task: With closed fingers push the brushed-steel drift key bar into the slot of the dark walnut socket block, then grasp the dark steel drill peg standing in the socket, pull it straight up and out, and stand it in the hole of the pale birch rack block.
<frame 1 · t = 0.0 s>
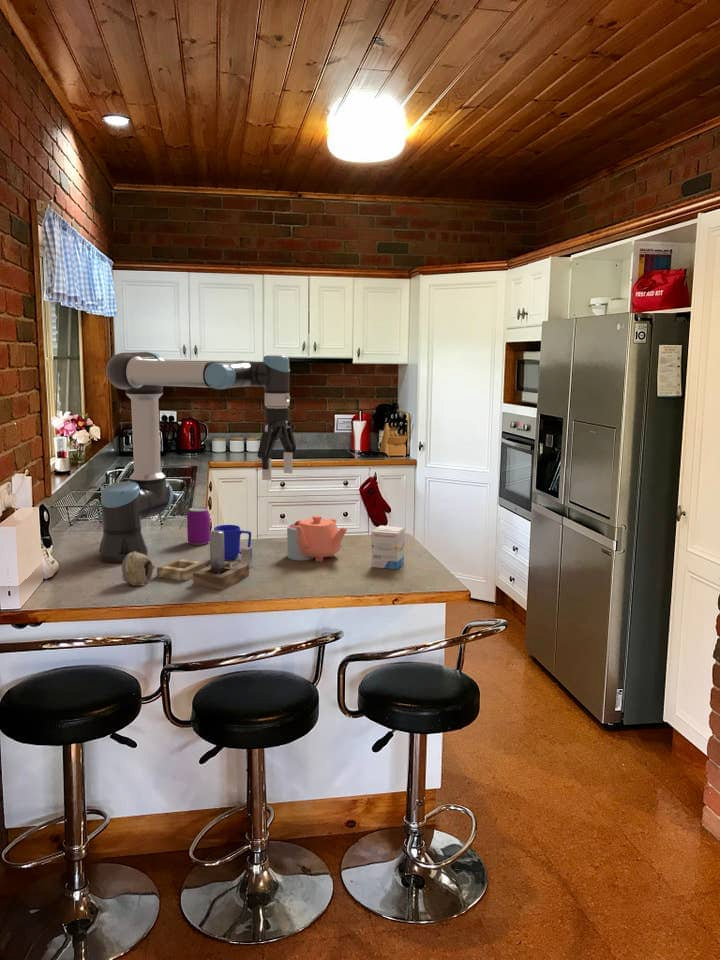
hand: (277, 476, 235), 28 cm above the table, fingers open, 13 cm apart
ink box: (387, 565, 241), on the table
beverage can: (199, 543, 264), on the table
mug 2: (306, 558, 248), on the table, touching teapot
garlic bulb: (139, 583, 221), on the table
rack: (181, 574, 229), on the table
drill peg: (217, 582, 222), resting in socket block
teapot: (317, 558, 248), on the table, touching mug 2
mug: (233, 558, 246), on the table
drift key: (241, 560, 234), point 3 cm above the table, slide at 0.0 cm
socket block: (221, 580, 224), on the table
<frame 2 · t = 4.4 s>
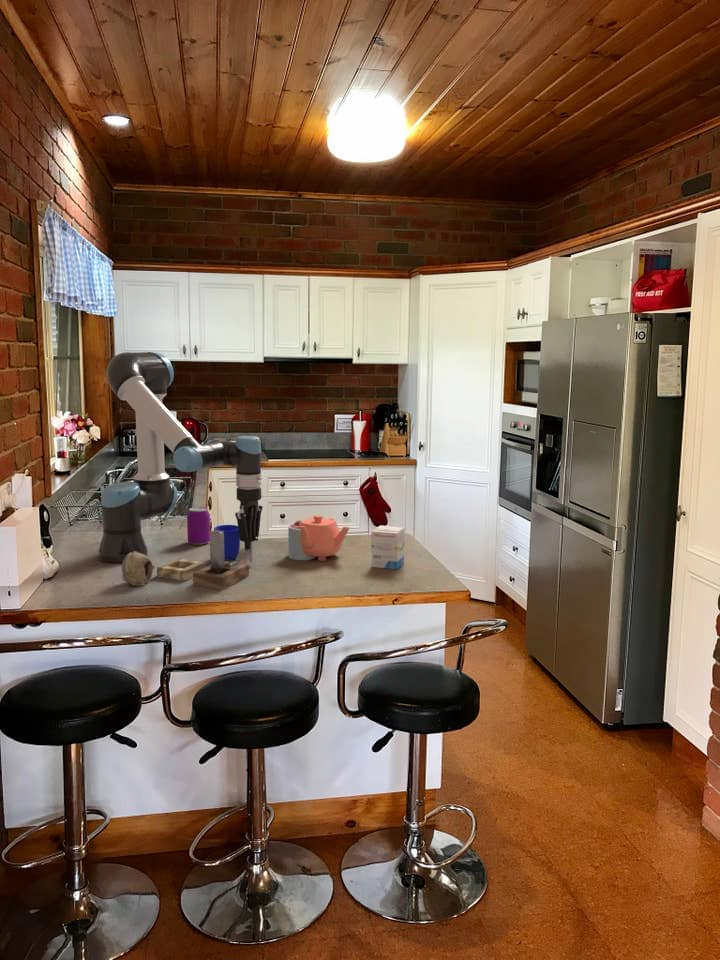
hand: (249, 561, 238), 1 cm above the table, fingers closed
drift key: (239, 561, 232), point 3 cm above the table, slide at 1.5 cm, touching gripper
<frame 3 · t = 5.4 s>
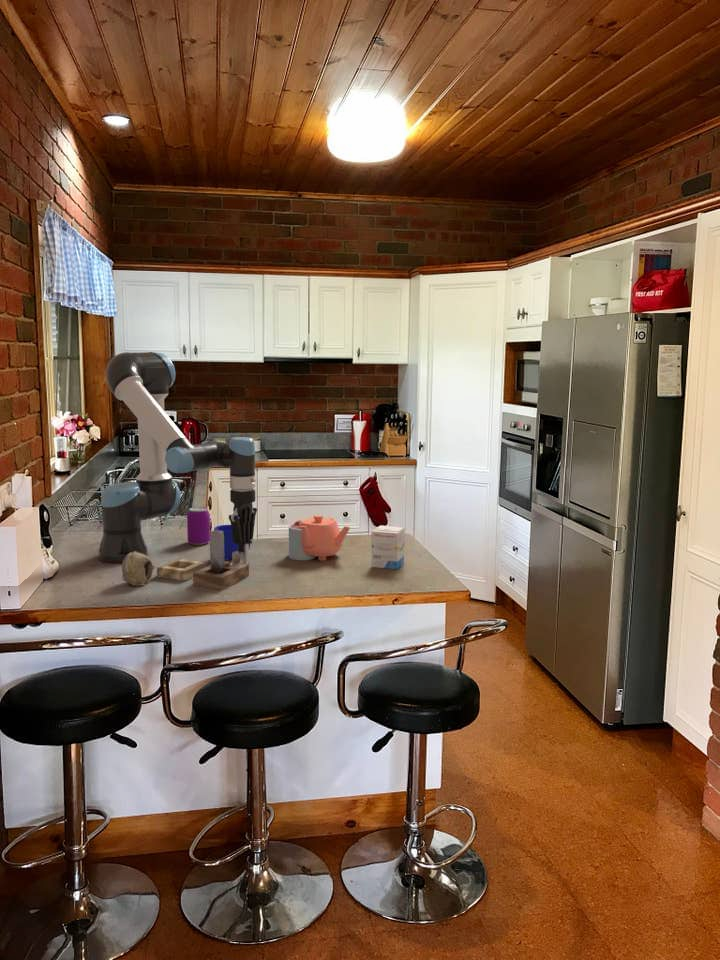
hand: (243, 564, 235), 1 cm above the table, fingers closed
drift key: (232, 564, 229), point 3 cm above the table, slide at 5.1 cm, touching gripper
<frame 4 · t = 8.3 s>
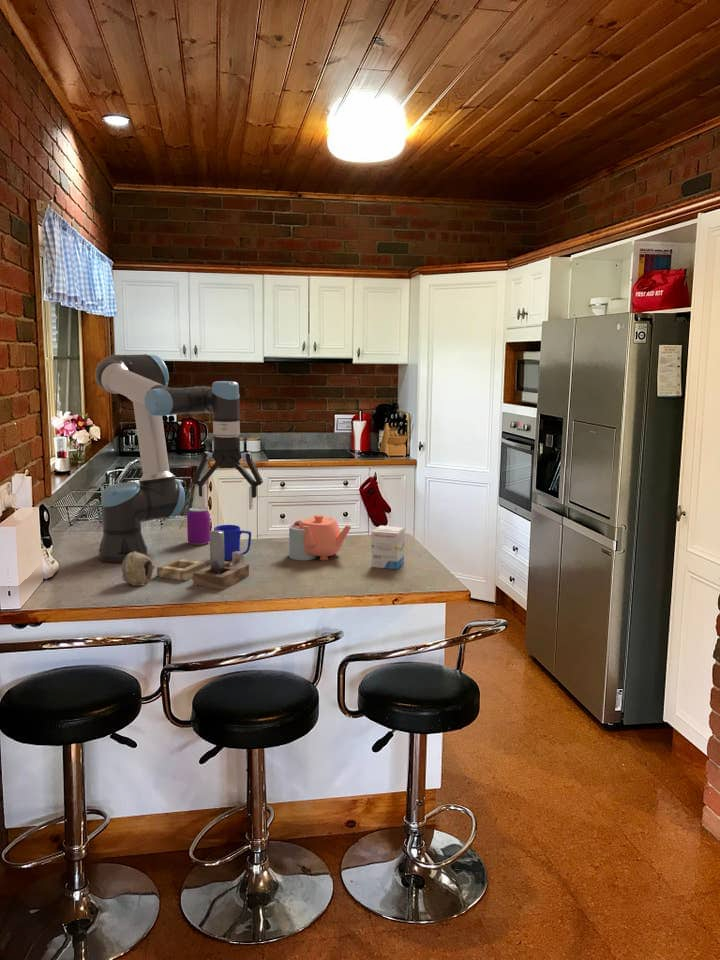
hand: (228, 508, 224), 21 cm above the table, fingers open, 13 cm apart
mug 2: (309, 557, 248), on the table, touching teapot
teapot: (319, 557, 249), on the table, touching mug 2
drift key: (232, 564, 229), point 3 cm above the table, slide at 5.2 cm
everything else where it was.
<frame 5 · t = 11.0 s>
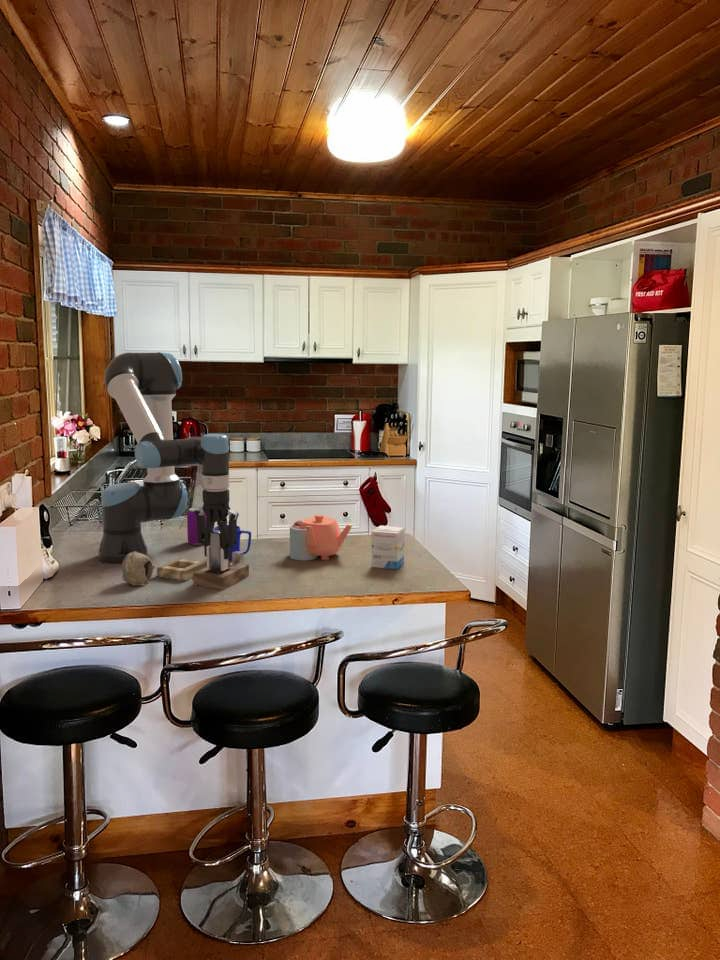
hand: (217, 568, 221), 4 cm above the table, fingers closed on drill peg, 4 cm apart
mug 2: (310, 557, 249), on the table, touching teapot
drill peg: (217, 582, 222), resting in socket block, touching gripper
teapot: (320, 557, 250), on the table, touching mug 2
everything else where it was.
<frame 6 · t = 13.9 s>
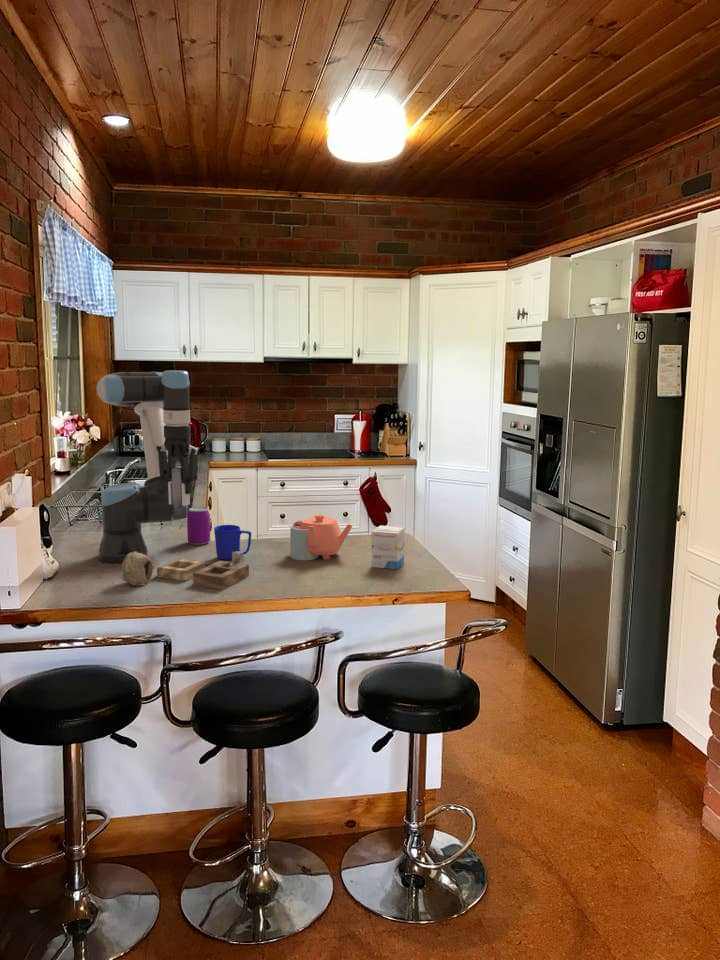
hand: (179, 503, 225), 21 cm above the table, fingers closed on drill peg, 4 cm apart
drill peg: (179, 517, 226), point 17 cm above the table, touching gripper
when the fingers open (5 cm above the table, at t = 17.0 s): drill peg stays where it is, resting in rack.
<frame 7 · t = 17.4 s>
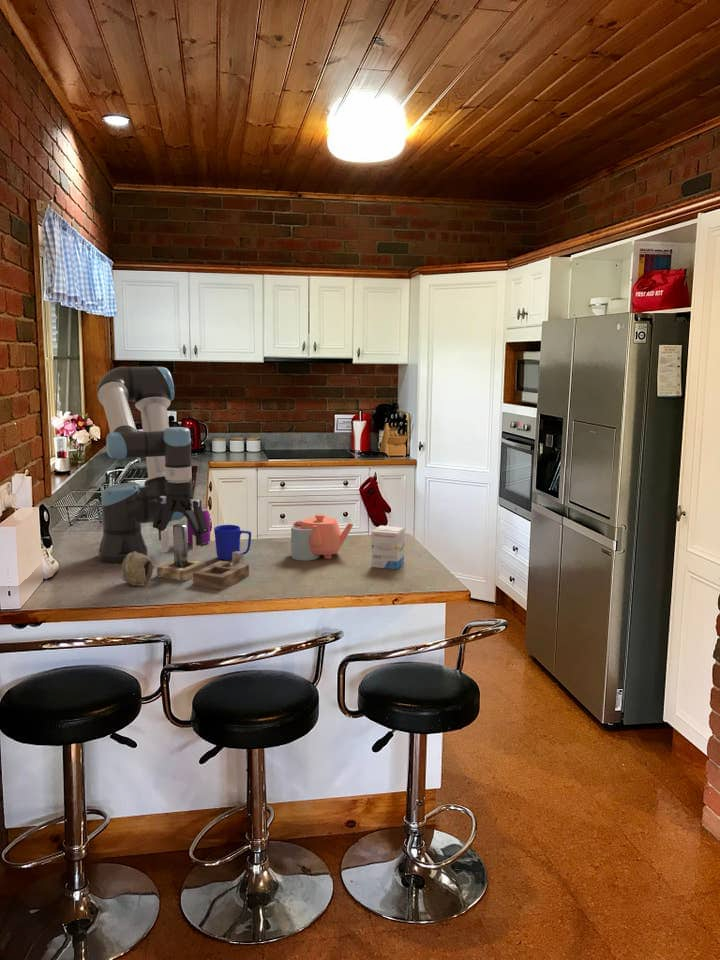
hand: (180, 553, 228), 6 cm above the table, fingers open, 10 cm apart
drill peg: (181, 574, 229), resting in rack
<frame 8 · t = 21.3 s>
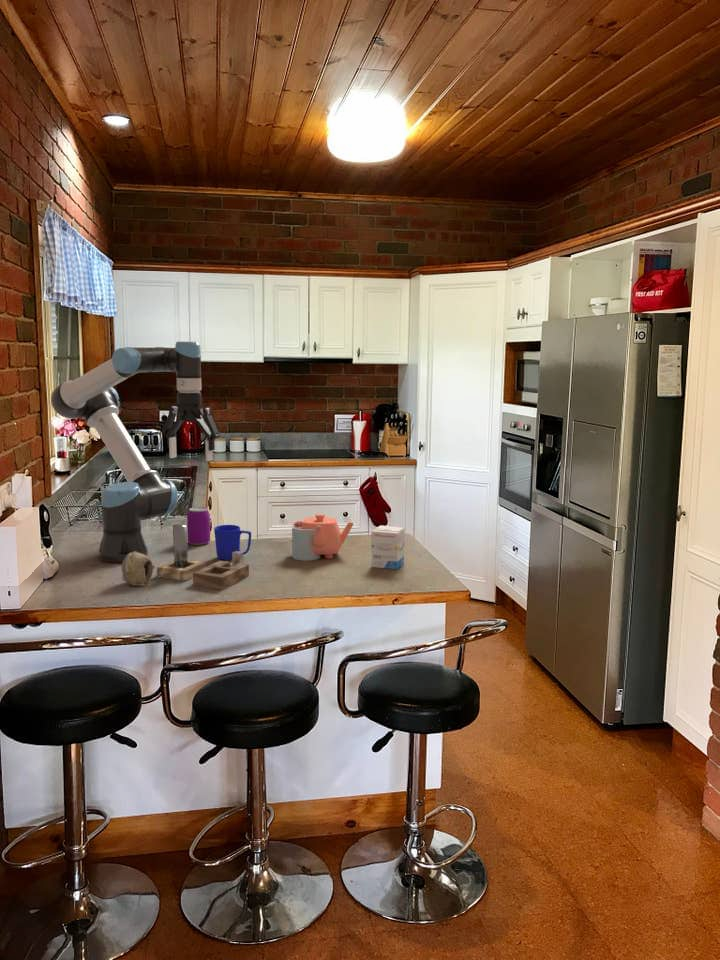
hand: (191, 459, 243), 32 cm above the table, fingers open, 13 cm apart
teapot: (322, 555, 251), on the table, touching mug 2
at the end: drift key slide at 5.2 cm; drill peg 0.0 cm off-centre on the rack, point 0.0 cm above the rack's base; drill peg tilted 0° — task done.
